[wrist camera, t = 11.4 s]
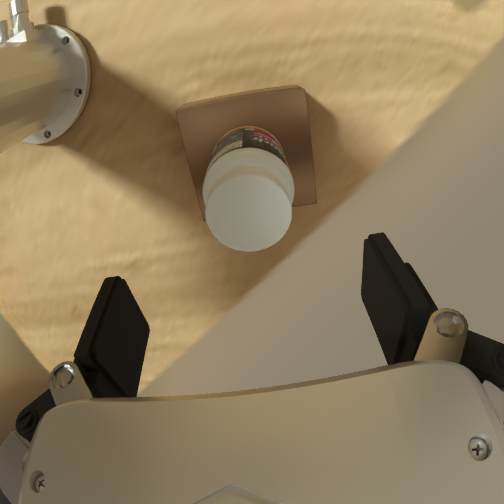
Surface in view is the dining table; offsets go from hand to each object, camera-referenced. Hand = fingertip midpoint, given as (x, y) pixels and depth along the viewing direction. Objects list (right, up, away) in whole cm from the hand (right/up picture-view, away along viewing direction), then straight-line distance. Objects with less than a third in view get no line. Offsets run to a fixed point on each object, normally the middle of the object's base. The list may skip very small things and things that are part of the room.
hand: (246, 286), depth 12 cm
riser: (0, +11, +16) cm, 20 cm away
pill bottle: (0, +9, +13) cm, 16 cm away
